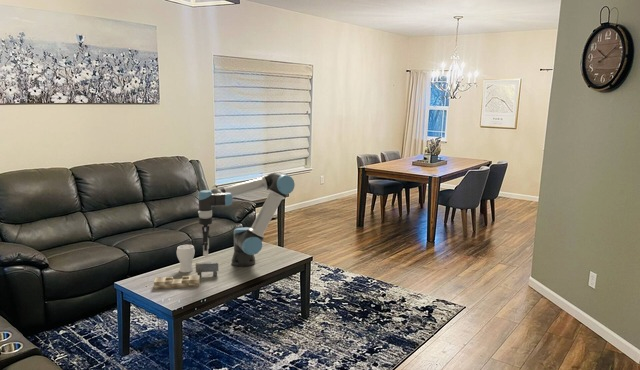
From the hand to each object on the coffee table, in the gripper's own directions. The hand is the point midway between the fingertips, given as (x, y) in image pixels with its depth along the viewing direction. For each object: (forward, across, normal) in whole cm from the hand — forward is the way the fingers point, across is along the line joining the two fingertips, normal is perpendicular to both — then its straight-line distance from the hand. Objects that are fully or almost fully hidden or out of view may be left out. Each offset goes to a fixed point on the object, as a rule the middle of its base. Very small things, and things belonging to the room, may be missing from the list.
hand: (206, 252), depth 272 cm
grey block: (+15, 0, 0) cm, 15 cm away
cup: (+15, -12, -13) cm, 23 cm away
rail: (+15, +12, -16) cm, 25 cm away
